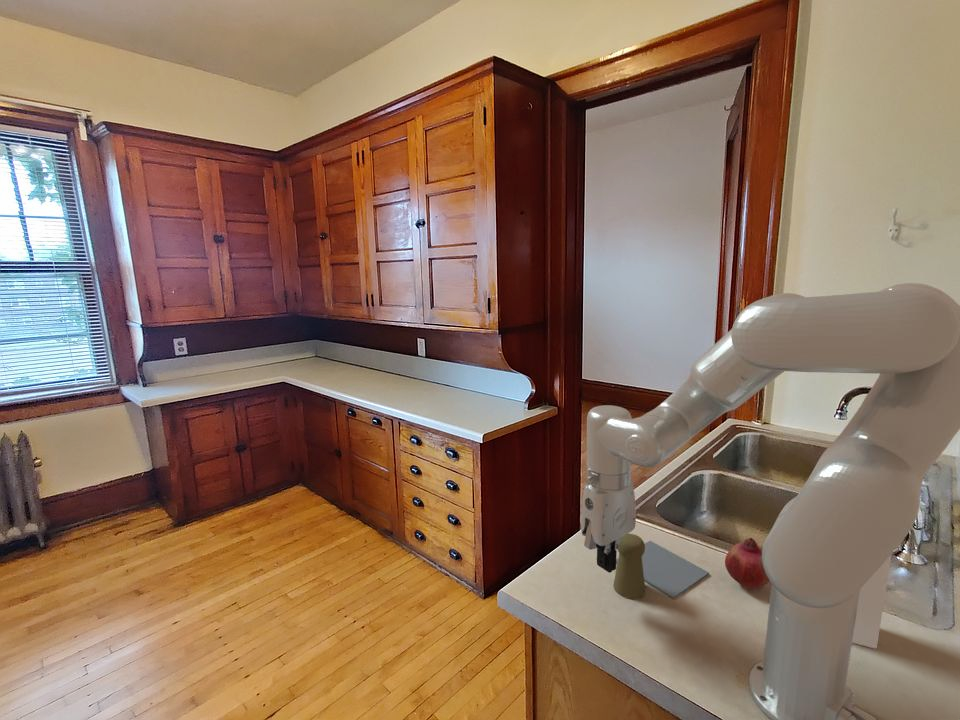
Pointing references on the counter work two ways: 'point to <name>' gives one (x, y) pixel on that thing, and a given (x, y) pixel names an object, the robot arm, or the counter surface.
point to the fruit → (746, 564)
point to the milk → (871, 607)
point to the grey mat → (669, 571)
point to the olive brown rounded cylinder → (630, 567)
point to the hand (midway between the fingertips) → (606, 567)
